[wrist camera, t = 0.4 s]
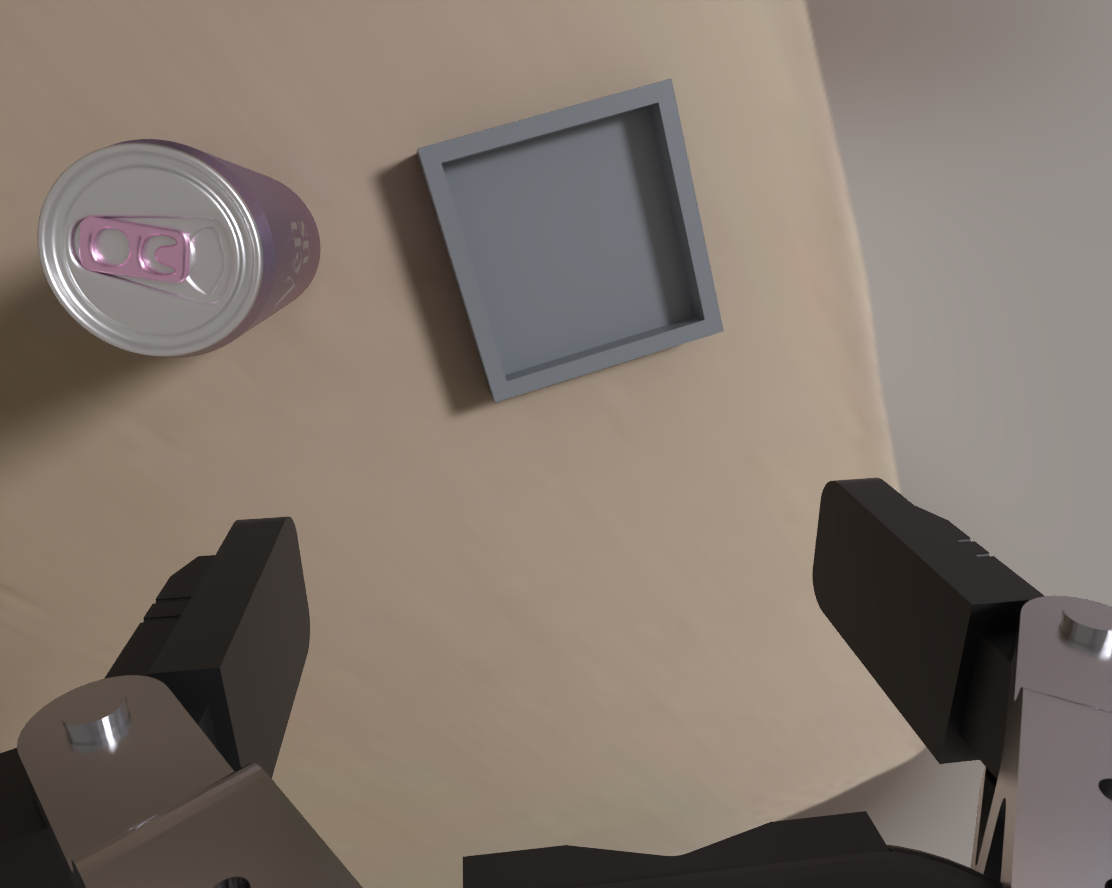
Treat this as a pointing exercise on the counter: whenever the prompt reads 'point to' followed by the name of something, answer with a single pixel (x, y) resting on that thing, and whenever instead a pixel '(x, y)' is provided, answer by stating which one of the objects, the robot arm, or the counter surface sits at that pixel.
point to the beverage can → (172, 247)
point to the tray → (574, 238)
